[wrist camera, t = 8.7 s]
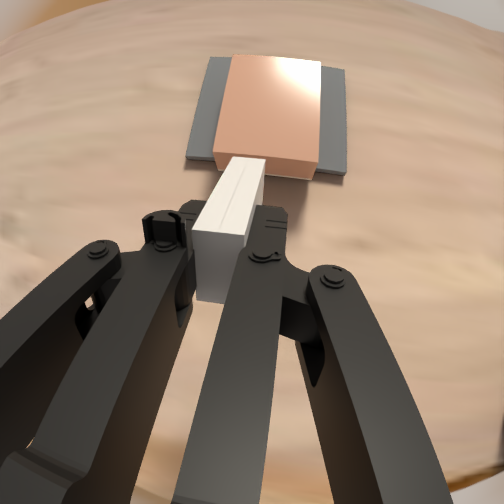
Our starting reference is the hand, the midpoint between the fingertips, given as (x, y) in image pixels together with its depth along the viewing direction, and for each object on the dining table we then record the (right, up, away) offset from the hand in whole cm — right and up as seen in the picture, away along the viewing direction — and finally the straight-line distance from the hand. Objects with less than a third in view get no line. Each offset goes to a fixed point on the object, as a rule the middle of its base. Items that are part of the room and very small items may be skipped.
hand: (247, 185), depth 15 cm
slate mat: (+2, +12, +18) cm, 22 cm away
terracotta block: (+1, +5, +13) cm, 14 cm away
